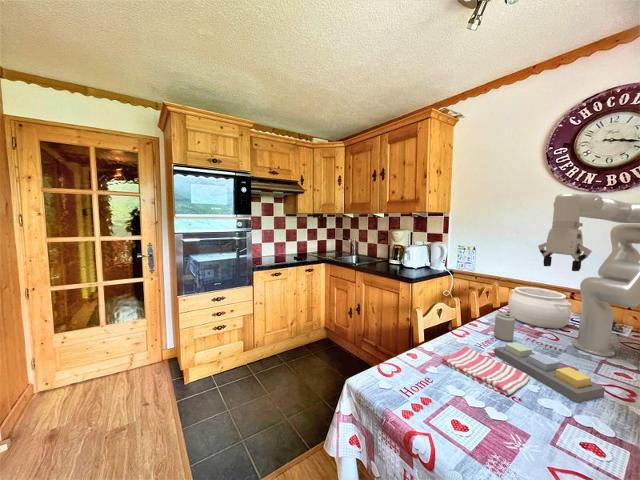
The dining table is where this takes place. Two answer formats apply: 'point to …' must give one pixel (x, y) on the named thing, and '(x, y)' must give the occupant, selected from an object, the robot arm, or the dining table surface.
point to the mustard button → (573, 377)
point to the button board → (551, 378)
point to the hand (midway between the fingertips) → (560, 268)
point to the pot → (539, 307)
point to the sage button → (518, 349)
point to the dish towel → (486, 370)
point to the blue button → (543, 362)
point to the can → (504, 326)
